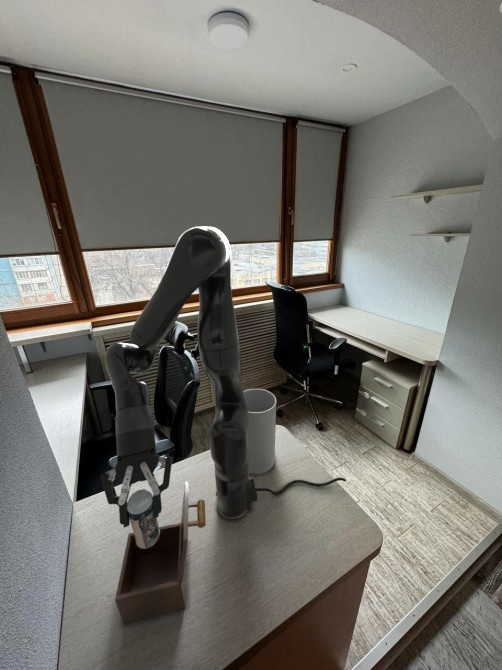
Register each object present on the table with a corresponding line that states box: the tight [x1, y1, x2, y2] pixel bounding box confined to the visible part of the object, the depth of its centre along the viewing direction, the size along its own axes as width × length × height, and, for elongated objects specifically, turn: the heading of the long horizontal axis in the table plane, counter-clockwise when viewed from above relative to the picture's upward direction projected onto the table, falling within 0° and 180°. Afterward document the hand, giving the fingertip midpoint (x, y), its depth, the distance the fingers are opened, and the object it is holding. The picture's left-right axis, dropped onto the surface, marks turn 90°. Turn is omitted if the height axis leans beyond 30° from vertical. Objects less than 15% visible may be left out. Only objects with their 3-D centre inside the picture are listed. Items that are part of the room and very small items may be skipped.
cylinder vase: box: [243, 388, 277, 475], centre depth 88 cm, size 12×12×25 cm
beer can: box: [127, 488, 160, 549], centre depth 54 cm, size 5×5×12 cm
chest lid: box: [179, 481, 207, 583], centre depth 58 cm, size 13×12×4 cm
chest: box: [114, 522, 187, 624], centre depth 60 cm, size 12×12×9 cm
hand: (142, 520), depth 52 cm, fingers closed on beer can, 4 cm apart
